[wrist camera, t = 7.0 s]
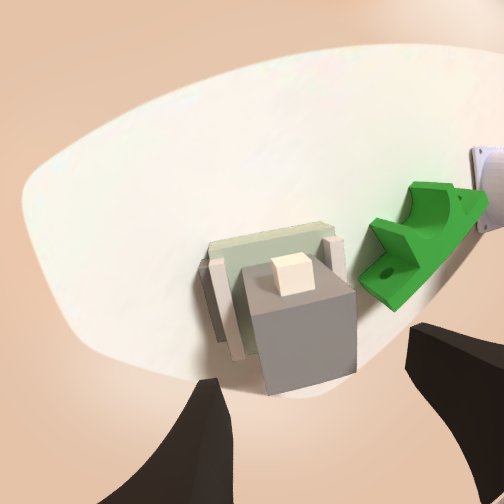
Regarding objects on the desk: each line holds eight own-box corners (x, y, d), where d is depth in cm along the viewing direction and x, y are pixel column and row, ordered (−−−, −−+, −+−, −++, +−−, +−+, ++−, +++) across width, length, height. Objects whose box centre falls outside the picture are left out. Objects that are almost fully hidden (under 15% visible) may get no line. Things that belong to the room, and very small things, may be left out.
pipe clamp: (432, 160, 18) (472, 159, 13) (451, 198, 19) (489, 203, 14) (337, 251, 19) (368, 270, 14) (363, 288, 20) (395, 313, 15)
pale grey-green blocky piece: (320, 221, 18) (342, 230, 14) (329, 316, 20) (349, 341, 16) (197, 244, 18) (191, 259, 14) (221, 339, 19) (221, 370, 16)
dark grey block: (308, 232, 15) (354, 261, 10) (317, 315, 17) (356, 372, 11) (237, 246, 15) (244, 284, 9) (253, 329, 17) (267, 395, 11)
